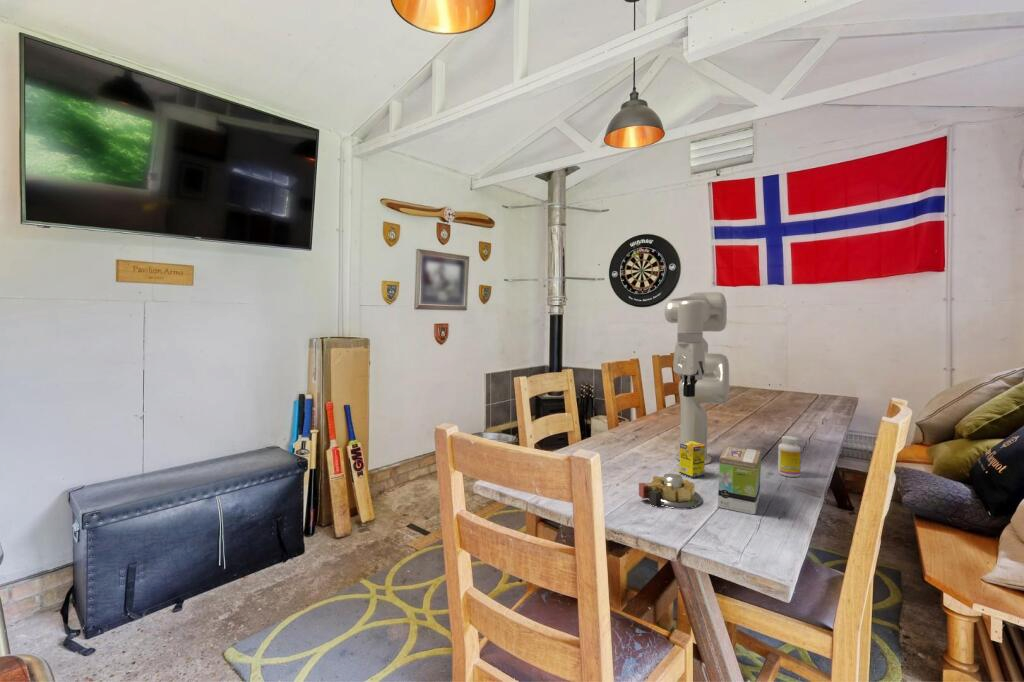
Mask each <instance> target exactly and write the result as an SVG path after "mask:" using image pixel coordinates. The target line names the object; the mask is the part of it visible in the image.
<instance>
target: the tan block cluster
mask: <svg viewBox="0 0 1024 682" xmlns="http://www.w3.org/2000/svg"><path fill="white" fill-rule="evenodd" d="M677 475H679V473H677ZM653 490H658V491H661V499H664V500H669V501H674V502H675V501H678V502H683V501H691V500H692V499H693V498H694V496H695V492H696V491H695V490H696V486H695V483H694V482H693V481H689V480H688V479H684V478H682V488H673V484H670V483H667V485H666V486H664V476H663V477H662V476H656V475H654V476H653V477H652V481H651V482H640V483H638V497H640V498H641V499H644V500H645V499H647V498H650V491H653Z"/></svg>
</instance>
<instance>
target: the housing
mask: <svg viewBox="0 0 1024 682" xmlns="http://www.w3.org/2000/svg"><path fill="white" fill-rule="evenodd" d="M677 474H678V473H677ZM677 474H676V473H666V474H664V475H663V477H664V486H666V485H667V483H670V484H673V488H682V479H683V476H682V475H681V474H678V475H677ZM648 499H649V500H650V501H649V500H648ZM648 499H647V500H648V501H649V505H650V504H651V505H654V506H658V505H664V506H668V507H674V508H690V509H692V508H691V507H695V506H697V507H699V506H700V505H701V504H702V496H701V494H699V493H698V492H696V491H695V496H694V498H693V499H692V500H691V501H683V502H678V501H675V502H674V501H669V500H664V499H661V491H658V490H653V491H650V498H648ZM700 503H701V504H700ZM699 504H700V505H699ZM651 505H650V506H651ZM698 505H699V506H698ZM654 506H653V507H654ZM658 507H659V506H658ZM674 508H673V509H674ZM695 508H696V507H695Z"/></svg>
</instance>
